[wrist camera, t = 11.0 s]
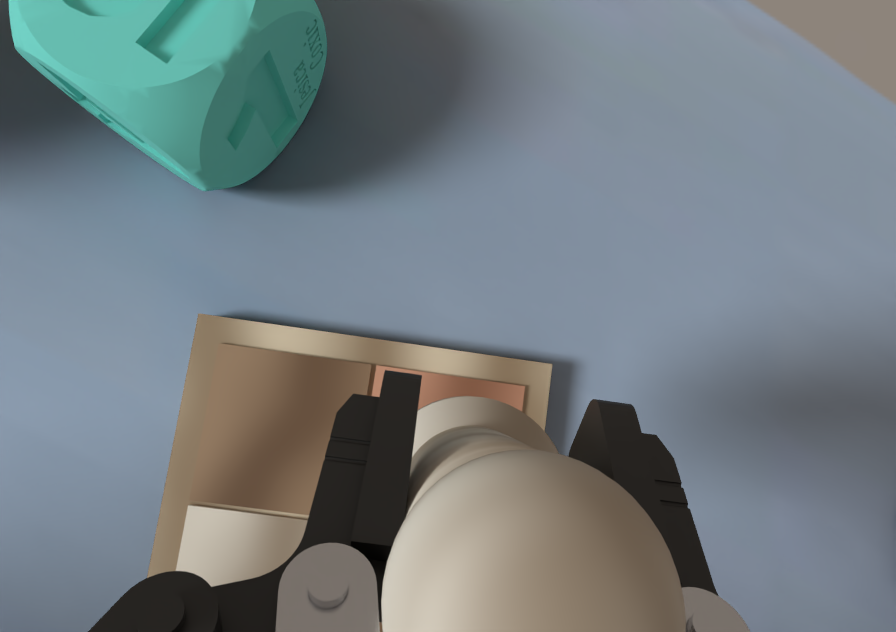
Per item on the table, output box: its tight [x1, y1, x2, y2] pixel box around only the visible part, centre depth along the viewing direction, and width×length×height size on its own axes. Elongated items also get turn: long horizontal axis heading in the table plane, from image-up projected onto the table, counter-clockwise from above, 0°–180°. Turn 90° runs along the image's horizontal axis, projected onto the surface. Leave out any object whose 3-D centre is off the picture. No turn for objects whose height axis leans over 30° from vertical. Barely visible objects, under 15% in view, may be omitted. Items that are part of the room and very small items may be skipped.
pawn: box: [381, 396, 686, 632], centre depth 10 cm, size 5×5×10 cm
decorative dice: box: [9, 0, 327, 191], centre depth 23 cm, size 8×8×8 cm
